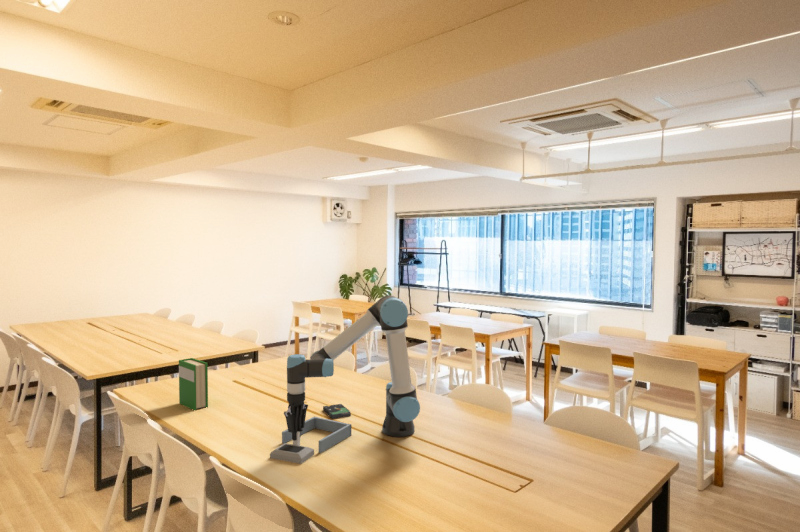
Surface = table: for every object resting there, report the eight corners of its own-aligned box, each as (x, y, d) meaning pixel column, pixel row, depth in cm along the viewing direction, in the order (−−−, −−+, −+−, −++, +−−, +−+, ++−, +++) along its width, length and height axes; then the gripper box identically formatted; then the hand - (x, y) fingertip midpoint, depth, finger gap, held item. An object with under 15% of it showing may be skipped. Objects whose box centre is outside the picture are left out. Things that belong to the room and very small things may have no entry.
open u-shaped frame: (351, 435, 226) (351, 424, 225) (320, 453, 206) (320, 441, 206) (314, 426, 236) (314, 416, 236) (282, 443, 216) (281, 431, 216)
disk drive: (322, 411, 260) (332, 419, 247) (322, 406, 260) (332, 414, 247) (341, 408, 265) (351, 416, 252) (341, 403, 265) (351, 411, 251)
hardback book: (208, 407, 264) (207, 362, 263) (194, 410, 259) (193, 365, 258) (192, 400, 276) (192, 357, 275) (179, 403, 270) (178, 360, 269)
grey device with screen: (301, 455, 196) (269, 450, 201) (301, 464, 196) (269, 459, 201) (314, 446, 204) (283, 441, 210) (314, 455, 205) (283, 450, 210)
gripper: (299, 386, 215) (299, 439, 216) (278, 394, 204) (278, 450, 205) (313, 389, 212) (313, 443, 213) (292, 397, 200) (292, 454, 201)
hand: (296, 446), depth 209 cm, fingers closed
